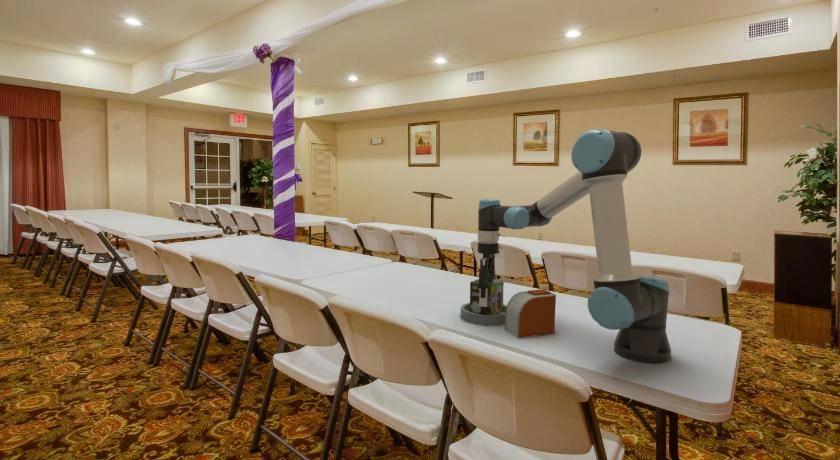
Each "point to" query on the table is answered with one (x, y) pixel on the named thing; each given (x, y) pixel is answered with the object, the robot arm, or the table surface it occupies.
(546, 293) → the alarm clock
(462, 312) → the round tray
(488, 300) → the chalk box
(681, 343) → the table surface
